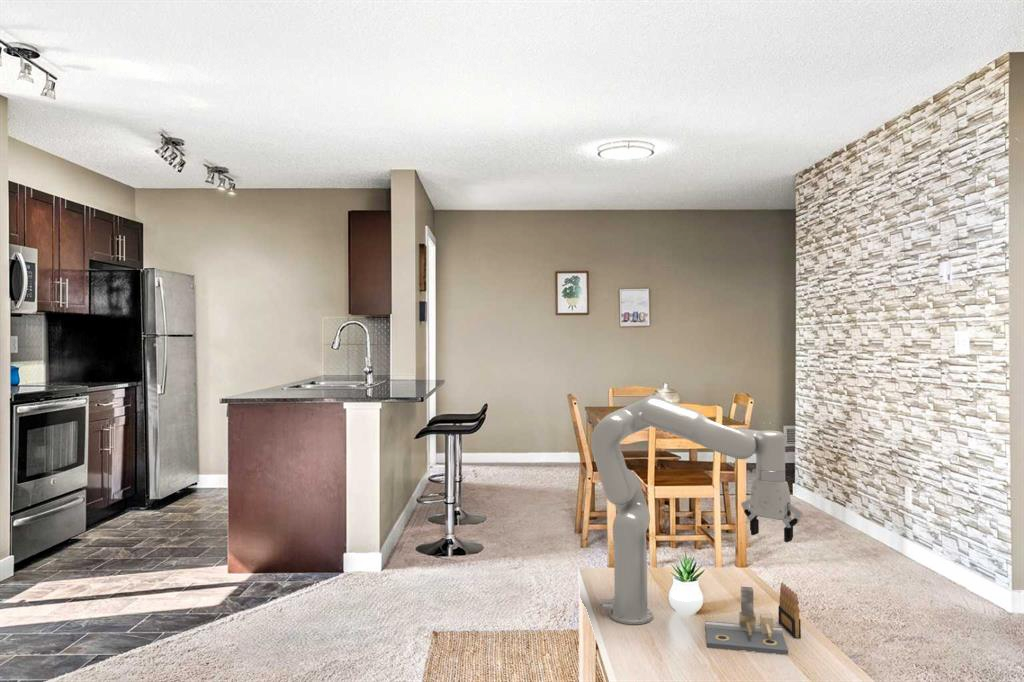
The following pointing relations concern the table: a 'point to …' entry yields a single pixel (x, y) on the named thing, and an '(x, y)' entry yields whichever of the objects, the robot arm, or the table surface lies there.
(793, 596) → the ammunition clip
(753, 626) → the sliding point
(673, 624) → the table surface
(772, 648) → the hole plate
